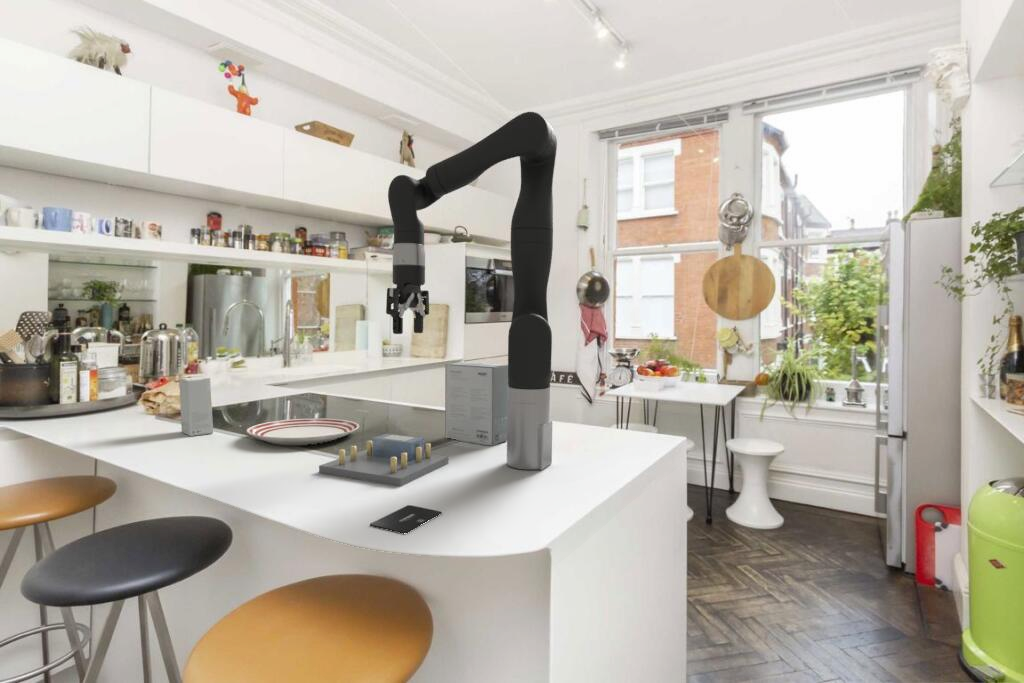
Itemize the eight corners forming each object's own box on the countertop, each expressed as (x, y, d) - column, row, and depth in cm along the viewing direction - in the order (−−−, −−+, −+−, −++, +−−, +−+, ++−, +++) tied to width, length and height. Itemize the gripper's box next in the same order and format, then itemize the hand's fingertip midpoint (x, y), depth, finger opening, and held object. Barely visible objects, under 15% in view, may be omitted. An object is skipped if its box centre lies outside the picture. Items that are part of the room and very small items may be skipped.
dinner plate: (284, 425, 160) (284, 414, 160) (374, 429, 157) (375, 418, 156) (222, 448, 133) (221, 434, 133) (329, 454, 129) (329, 440, 129)
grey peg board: (448, 463, 122) (448, 443, 122) (400, 486, 106) (401, 463, 105) (374, 453, 130) (374, 433, 130) (319, 472, 114) (319, 451, 113)
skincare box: (213, 433, 147) (212, 378, 146) (187, 437, 143) (187, 379, 142) (204, 428, 153) (203, 375, 152) (179, 431, 149) (178, 376, 148)
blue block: (424, 456, 122) (424, 437, 122) (411, 461, 118) (411, 442, 117) (386, 450, 126) (386, 433, 126) (372, 456, 122) (372, 437, 121)
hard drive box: (508, 441, 144) (509, 364, 143) (492, 447, 138) (493, 367, 137) (461, 433, 153) (462, 361, 152) (443, 438, 146) (444, 363, 145)
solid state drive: (442, 515, 92) (442, 511, 92) (405, 537, 83) (405, 532, 83) (408, 508, 95) (408, 504, 95) (368, 528, 86) (368, 524, 86)
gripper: (404, 261, 122) (404, 334, 123) (438, 266, 135) (437, 333, 136) (376, 262, 125) (376, 333, 126) (412, 267, 138) (412, 332, 139)
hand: (408, 333), depth 131 cm, fingers open, 8 cm apart
